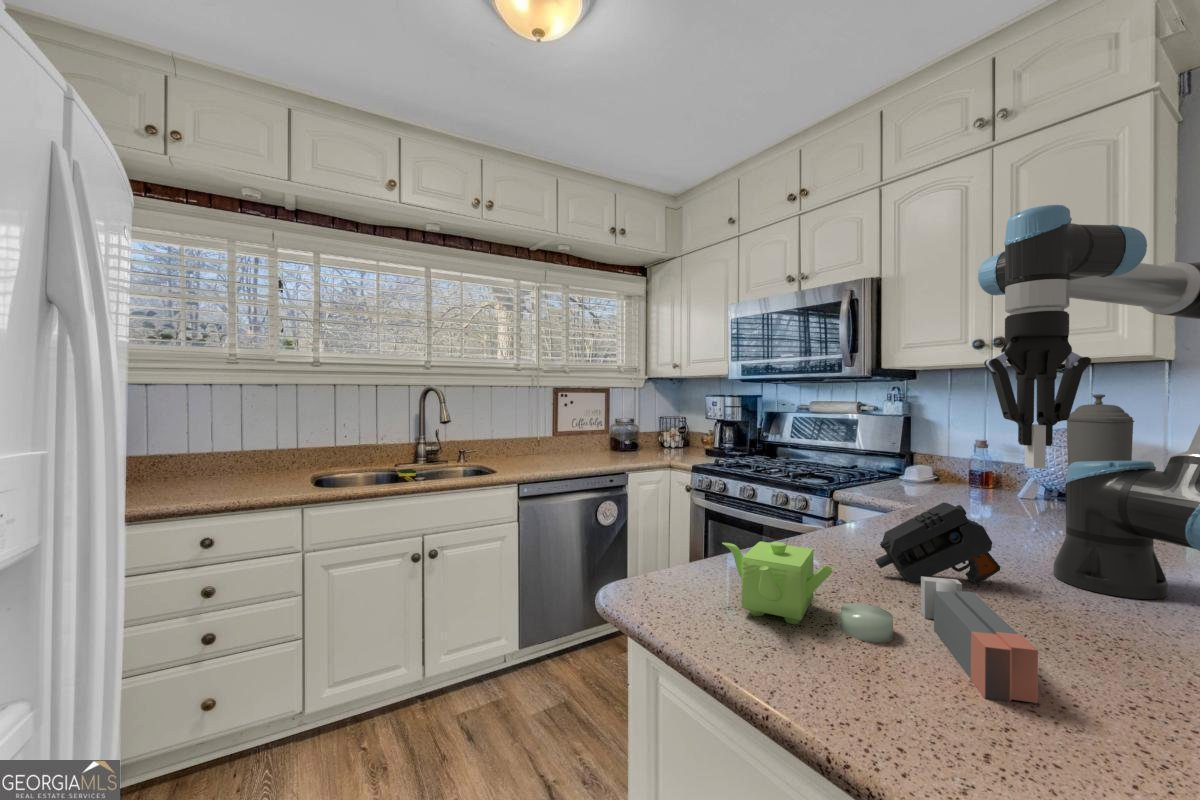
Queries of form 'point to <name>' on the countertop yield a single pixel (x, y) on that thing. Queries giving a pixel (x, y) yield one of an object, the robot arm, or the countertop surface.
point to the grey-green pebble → (867, 622)
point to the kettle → (778, 579)
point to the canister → (1099, 433)
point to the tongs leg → (1021, 649)
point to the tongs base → (967, 638)
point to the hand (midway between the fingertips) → (1034, 467)
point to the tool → (939, 545)
